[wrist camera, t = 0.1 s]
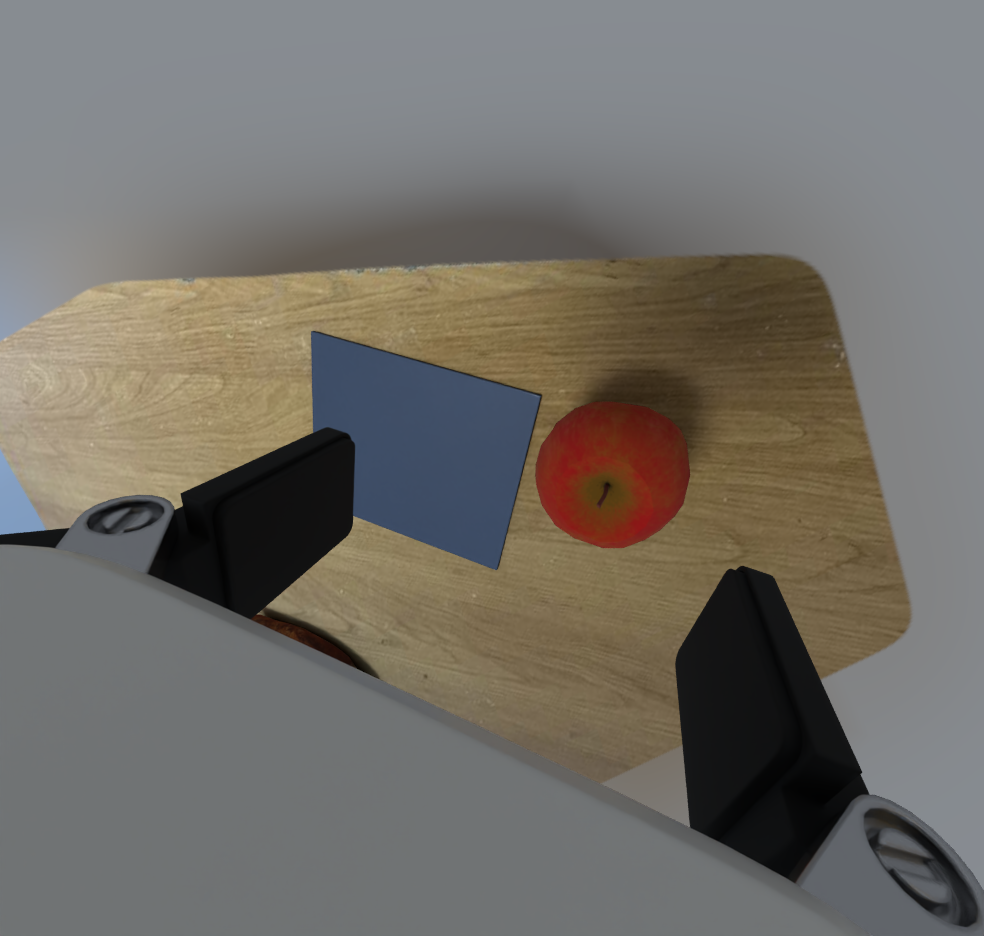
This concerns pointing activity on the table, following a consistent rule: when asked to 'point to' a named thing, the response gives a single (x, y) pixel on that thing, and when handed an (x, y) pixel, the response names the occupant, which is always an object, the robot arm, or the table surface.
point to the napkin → (426, 444)
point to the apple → (613, 473)
